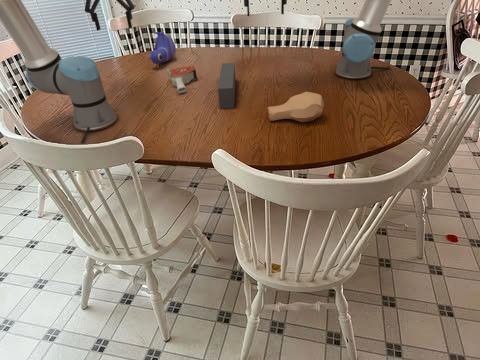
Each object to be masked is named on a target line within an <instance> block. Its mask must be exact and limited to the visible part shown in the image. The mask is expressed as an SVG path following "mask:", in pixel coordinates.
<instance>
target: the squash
mask: <svg viewBox="0 0 480 360" xmlns="http://www.w3.org/2000/svg"><path fill="white" fill-rule="evenodd" d="M324 107H325V103H324V99H323V97H322V95H321V94H320V93H315V92H311V91H304V92H301V93H299V94H296V95H292V96H291V97H289V98H288V100H287V101H286V102H285V103H283V104H280V105H273V106H268V107H267V110H266V112H267V114H268V119H269V121H271V122H273V121H278V120H284V119H289V120H294V121H295V122H296V121H297V122H300V123H308V122H314V121H316V119H318V118H320V117H321V116H322V115H323V111H324Z"/></svg>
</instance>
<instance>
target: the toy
mask: <svg viewBox="0 0 480 360" xmlns="http://www.w3.org/2000/svg"><path fill="white" fill-rule="evenodd" d="M153 34H154V35H157V36H156V38H155V42H154V50H152V51H150V53H149V56H148V58H149V60H150V61H151V62H152V63H153V64H155V65H156V68H157V69H159V67H160V64H163V63H166V62H169V61H170V60H172V59H173V58H174V57H175V55H176V51H177V49H176V44H175V42H174V40H173V38H172V37H171V36H170V35H168V36H167V35H166V34H165V33H164V32H163V31H160V32H159V31H155V32H154V33H153Z"/></svg>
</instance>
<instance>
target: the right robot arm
mask: <svg viewBox="0 0 480 360" xmlns="http://www.w3.org/2000/svg"><path fill="white" fill-rule="evenodd" d="M280 1H281V3H280V4H281V5H280V9H281V11H280V13H281V15H284V14H285V5H287V4H288V0H280ZM391 2H392V0H364V2H363V5H362V7H361V10H360V13H359V15H358V17H355V18H349V19H346V21H345V24H344V33H343V40H342V47H341V49H342V50H341V56H340V58H339V61H338V63H337V65H336V66H335V75H336V76H337V77H339V78H341V79H345V80H351V81H352V80H355V81H356V80H358V81H359V80H364V79H367V78H369V77H371V75H372V70H389V69H390V66H372V65H371V60H370V59H371V58H372V57H373V55H374V53H375V51H376V44H377V42H378V40H379V37H380V36H381V33H382V30H383V29H382V26H381V23H382V22H383V19H384V17H385V15H386V13H387V10H388V8H389V7H390V4H391ZM243 6H244V7H245V8H246V11H247V13H246V14H247V15H246V17H250V0H243Z"/></svg>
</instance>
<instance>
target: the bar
mask: <svg viewBox="0 0 480 360" xmlns="http://www.w3.org/2000/svg"><path fill="white" fill-rule="evenodd" d="M236 79H237V78H236V63H235V62H223V63H221V67H220V74H219V80H218V87H217V92H218V93H217V94H218V105H219V109H234V108H235V103H236V102H235V100H236V82H237V80H236Z"/></svg>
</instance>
